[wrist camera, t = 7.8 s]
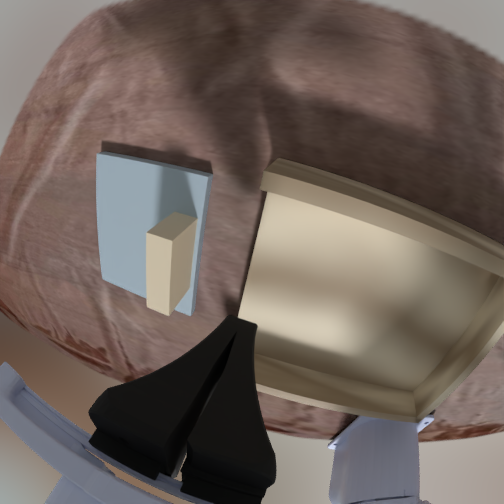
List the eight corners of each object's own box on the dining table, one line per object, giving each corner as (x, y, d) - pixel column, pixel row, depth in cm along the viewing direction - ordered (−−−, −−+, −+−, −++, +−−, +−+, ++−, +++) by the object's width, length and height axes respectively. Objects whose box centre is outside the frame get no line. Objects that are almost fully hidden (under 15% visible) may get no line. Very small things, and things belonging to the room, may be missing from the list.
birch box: (414, 389, 19) (418, 423, 16) (233, 342, 21) (218, 377, 18) (511, 249, 12) (538, 279, 9) (278, 157, 14) (263, 170, 11)
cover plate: (197, 306, 21) (172, 344, 17) (111, 271, 21) (79, 299, 18) (216, 172, 16) (181, 192, 12) (108, 150, 16) (63, 164, 13)
